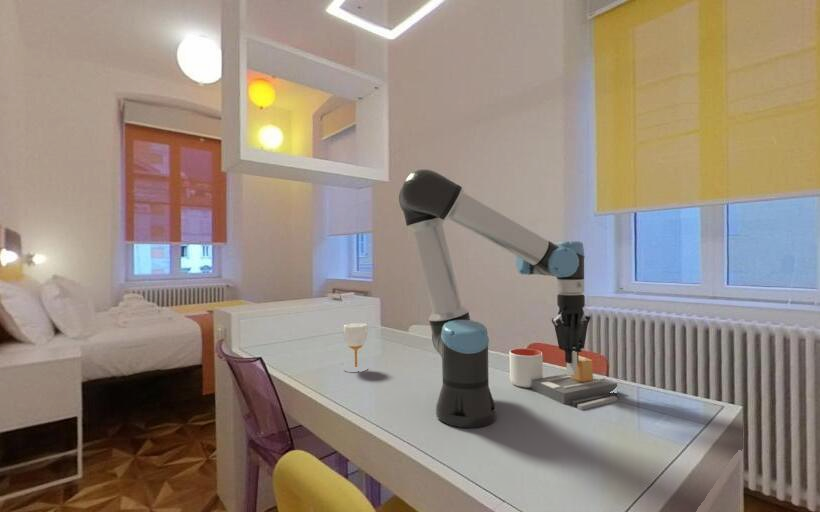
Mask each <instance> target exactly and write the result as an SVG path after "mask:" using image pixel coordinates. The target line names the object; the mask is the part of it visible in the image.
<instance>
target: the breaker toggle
mask: <svg viewBox="0 0 820 512" xmlns="http://www.w3.org/2000/svg"><path fill="white" fill-rule="evenodd" d="M593 369H594V368H593V360H592V359H590V358H587V357H584V356H581V355H578V362H577V375H572V374H571V378H572V379H575V380H578V381H580V382H587V381H592V380H593V373H594V371H593Z"/></svg>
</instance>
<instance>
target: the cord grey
mask: <svg viewBox="0 0 820 512" xmlns="http://www.w3.org/2000/svg"><path fill="white" fill-rule="evenodd" d="M615 402H618V398H617V397H615V396H611V397H606V398H602V399H598V400H594V401H590V402H586V403H582V404H578V405H577V407H576V408H577V409H578V410H579V411H583V410H586V409H591V408H594V407H598V406H602V405H607V404H611V403H615Z"/></svg>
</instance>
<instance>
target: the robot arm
mask: <svg viewBox="0 0 820 512" xmlns="http://www.w3.org/2000/svg"><path fill="white" fill-rule="evenodd" d="M398 202H399V207H400V208H401V211H402V212H403V216H404V220H405V224H406V228H407V229H408V230H410V231H412V232H413V235H414V238H415V243H416V247H417V248H416V249H417V252H418V258H419V261H420V265H421V269H422V273H423V276H424V278H423V279H424V282H425V285H426V290H427V294H428V298H429V299H428V300H429V303H430V307H431V310H432V312H431V315H430V316H429V318H428V321H429V324H430V329H431V341H432V344H433V347H434V349H435V351H436V352H437V353H438V354H439V355H440V357H441V362H442V363H441V364H442V365H441V366H442V368H441V369H442V376H441V377H442V384H441V389H440V392H439V395H438V399H437V403H436V405H435V406H436V407H435V415H437V416H436V418H437V417H438V418H439V419H440V420H441V421H443V422H445V423H448V424H450V425H449V426H451V425H454V426H453V427H455V426H460V427H459V428H463V427H469V428H468V429H472V428H473V427H474V428H475V429H476V428H483V427H486V426H489V425H491V424H493V423H494V422H495V421H496V420H497V406H496V404H495V402H494V398H493V395H492V393H491V389H490V386H489V383H490V382H489V341H490V338H489V335H488V328H487V327H486V326H485V325H484V324H483V323H482V322H479V321H474V320H471V316H470V312H469V309H468V308H466V307H464V306H463V305H462V301H461V297H460V294H459V289H458V286H457V281H456V276H455V271H454V268H453V265H452V264H453V263H452V260H451V259H452V258H451V256H450V251H449V247H448V241H447V239H446V234H445V230H444V222H445V221H447V220H449V221H450V220H451V221H452V222H454V223H456V224H458V225H460V226H462V227H463V228H465V229H467V230H468V231H470V232H472V233H474V234H475V235H477V236H479V237H481V238H483V239H485V240H486V241H488V242H491V243H492V244H494V245H496V246H497V247H500V248H501V249H503V250H505V251H507V252H508V253H511V254H512V255H514V256H516V257H515V266H516V270H517V272H518V273H519V274H520V275H529V276H530V275H538V276H548V277H556V292H557V296H556V297H557V298H556V299H557V300H556V303H557V306H558V308H559V309H558V312H557V316H555V317H552V318H551V323H552V325H553V326H554V331H555V334H556V335H555V336H556V340H557V345H558V349H559V350H562V351H563V352H564V360H565V363H566V374H572V375H577V362H578V356H579V353H581V352H582V350H583V349H584V348H585V344H586V338H587V337H586V336H587V331H588V325H589V322H590V321H591V316H590V315H586V314H585V312H584V307H585V306H586V299H585V297H586V296H585V295H584V293H585V251H584V250H585V248H584V244H583V242H581V241H578V240H577V241H576V240H575V241H558V242H557V243H556V244H555V243H553V242H551V241H550V240H548V239H546V238H544V237H543V236H541V235H539V234H538V233H536V232H533V231H532V230H530V229H528V228H527V227H525V226H523V225H521V224H520V223H518V222H516V221H514V220H513V219H511V218H509V217H508V216H505V215H504V214H502V213H500V212H499V211H496V210H495V209H493V208H492V207H490V206H488V205H486V204H484V203H483V202H481V201H479V200H477V199H475V198H474V197H472V196H470V195H468V194H467V193H465V191H464V188H463V187H462V186H461V185H460V184H458V183H455V182H454V181H452V180H451V179H449V178H447V177H446V176H443V175H442V174H440V173H438V172H437V171H435V170H430V169H418V170H415V171H412V172H411V173H410V174H409V175H408V176H407V177H406V178H405V180H404V182H403V184H402V186H401V189H400V190H399V194H398ZM438 418H437V419H438ZM439 419H438V420H439ZM440 420H439V421H440ZM441 421H440V422H441ZM443 422H442V423H443ZM445 423H444V424H445ZM448 424H447V425H448ZM471 427H472V428H471Z"/></svg>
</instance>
